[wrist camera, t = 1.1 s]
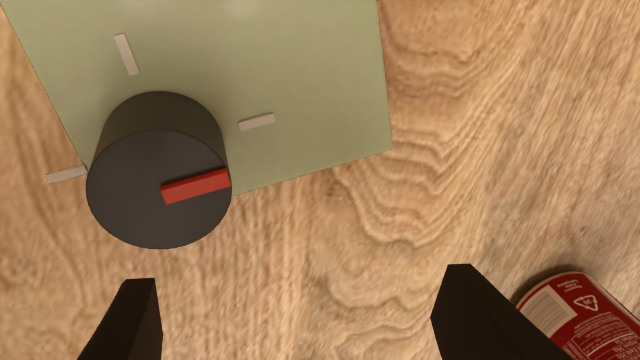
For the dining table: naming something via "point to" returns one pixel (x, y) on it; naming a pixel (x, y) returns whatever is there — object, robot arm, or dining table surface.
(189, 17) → the panel
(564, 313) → the soda can
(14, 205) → the dining table surface
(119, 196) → the knob
